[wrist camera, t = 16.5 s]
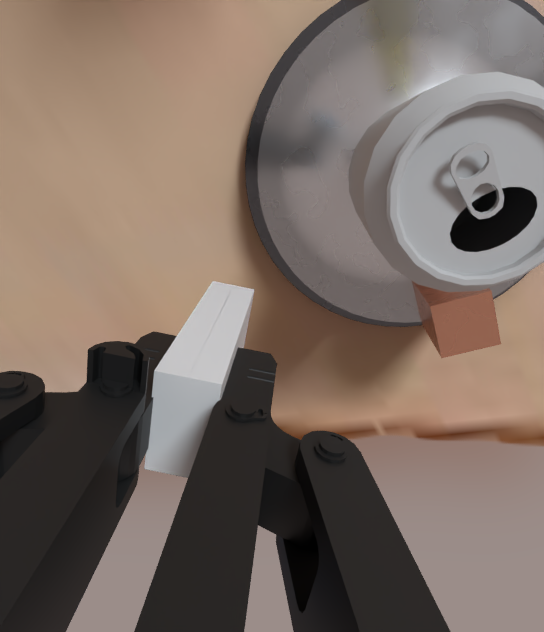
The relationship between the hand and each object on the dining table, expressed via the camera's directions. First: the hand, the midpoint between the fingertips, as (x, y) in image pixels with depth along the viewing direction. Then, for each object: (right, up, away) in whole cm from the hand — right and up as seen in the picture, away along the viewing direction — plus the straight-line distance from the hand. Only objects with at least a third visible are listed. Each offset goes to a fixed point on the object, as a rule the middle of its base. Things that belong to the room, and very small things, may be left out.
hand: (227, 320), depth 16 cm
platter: (+10, +9, +11) cm, 17 cm away
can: (+10, +8, +9) cm, 16 cm away
